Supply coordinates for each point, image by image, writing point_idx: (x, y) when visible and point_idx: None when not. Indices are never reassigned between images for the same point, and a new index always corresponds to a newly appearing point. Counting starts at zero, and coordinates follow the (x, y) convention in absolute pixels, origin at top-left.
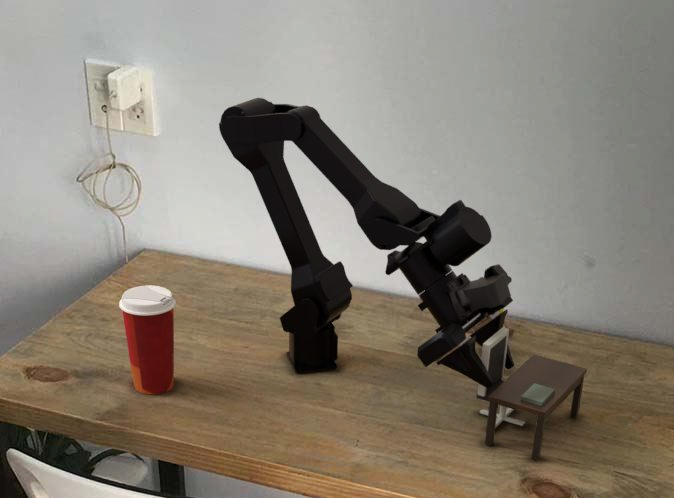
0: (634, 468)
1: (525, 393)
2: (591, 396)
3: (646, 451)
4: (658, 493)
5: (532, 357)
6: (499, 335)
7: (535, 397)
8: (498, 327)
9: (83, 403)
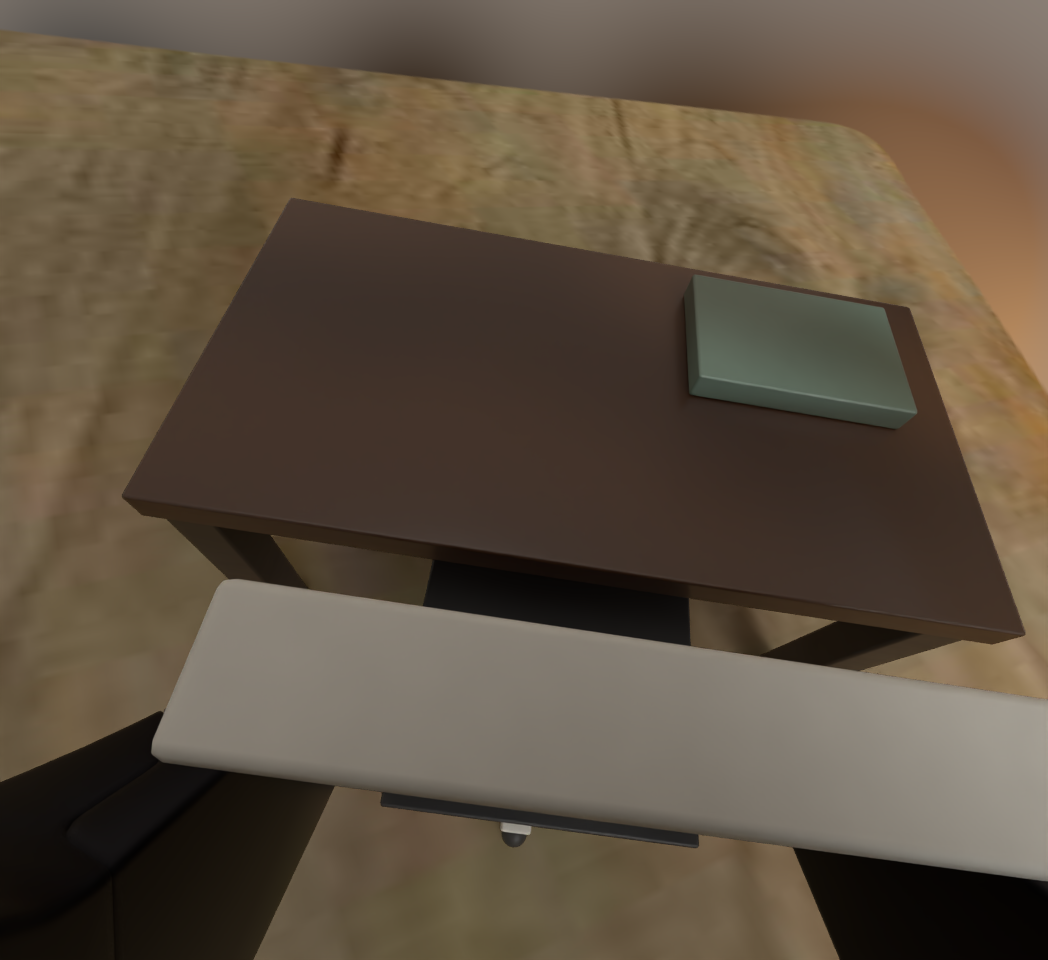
0: (612, 242)
1: (869, 396)
2: (144, 384)
3: (502, 224)
4: (694, 199)
5: (204, 490)
6: (687, 671)
7: (865, 342)
8: (9, 932)
9: None
